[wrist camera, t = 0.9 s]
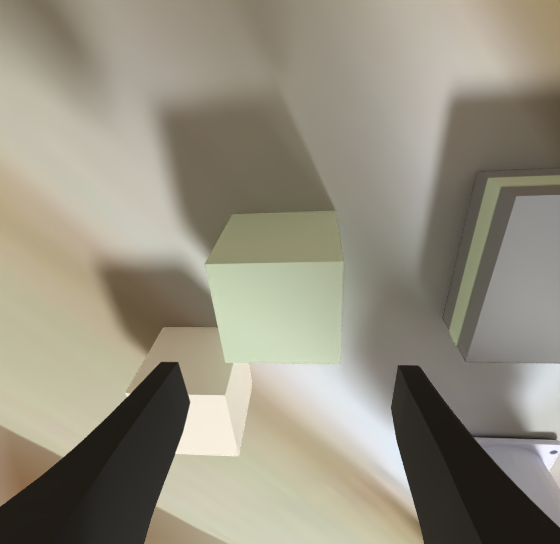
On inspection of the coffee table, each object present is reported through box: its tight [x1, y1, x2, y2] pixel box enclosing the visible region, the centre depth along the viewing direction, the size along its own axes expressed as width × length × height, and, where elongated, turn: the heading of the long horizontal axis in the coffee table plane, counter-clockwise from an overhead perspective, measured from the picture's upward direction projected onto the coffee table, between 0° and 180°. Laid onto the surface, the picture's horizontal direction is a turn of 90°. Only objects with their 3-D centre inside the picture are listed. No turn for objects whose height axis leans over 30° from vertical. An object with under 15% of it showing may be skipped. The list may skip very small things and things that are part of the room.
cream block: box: [125, 327, 252, 456], centre depth 22 cm, size 6×6×6 cm
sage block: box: [205, 210, 344, 364], centre depth 17 cm, size 6×6×6 cm
